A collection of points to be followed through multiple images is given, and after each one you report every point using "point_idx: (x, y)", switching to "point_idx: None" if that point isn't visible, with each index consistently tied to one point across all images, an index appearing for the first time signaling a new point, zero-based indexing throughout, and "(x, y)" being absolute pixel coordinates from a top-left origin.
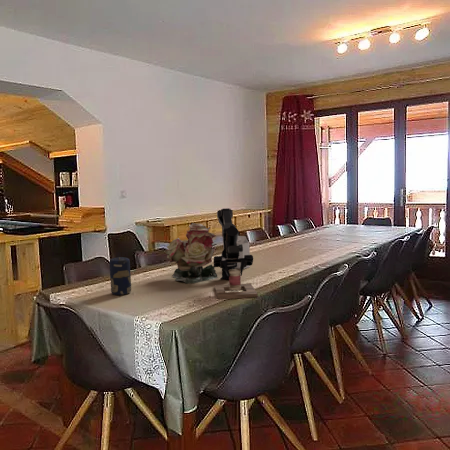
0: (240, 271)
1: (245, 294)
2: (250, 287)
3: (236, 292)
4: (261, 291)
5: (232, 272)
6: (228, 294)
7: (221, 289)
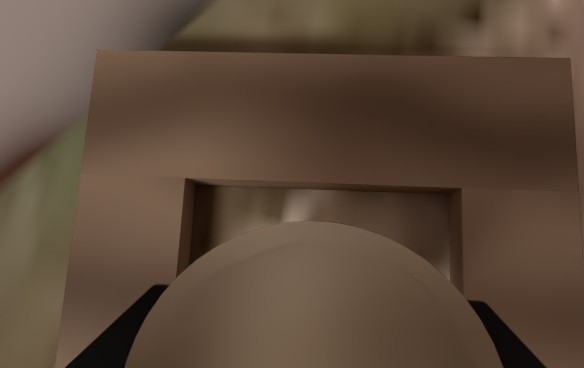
0: (146, 337)
1: (235, 52)
2: None
3: (324, 151)
4: (4, 280)
5: (398, 245)
6: (433, 86)
7: None
